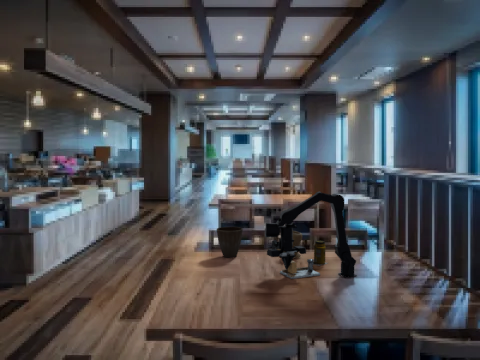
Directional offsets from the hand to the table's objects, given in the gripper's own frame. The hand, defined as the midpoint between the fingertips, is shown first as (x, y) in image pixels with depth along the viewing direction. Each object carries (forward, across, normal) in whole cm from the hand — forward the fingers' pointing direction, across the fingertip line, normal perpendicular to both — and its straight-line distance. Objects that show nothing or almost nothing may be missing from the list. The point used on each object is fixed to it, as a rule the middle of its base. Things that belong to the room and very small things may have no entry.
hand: (286, 269), depth 207 cm
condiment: (+4, -28, -14) cm, 31 cm away
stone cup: (+4, -22, -34) cm, 40 cm away
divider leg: (+2, -3, -1) cm, 4 cm away
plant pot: (+3, +10, -47) cm, 48 cm away
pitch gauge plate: (+3, -8, 0) cm, 8 cm away
